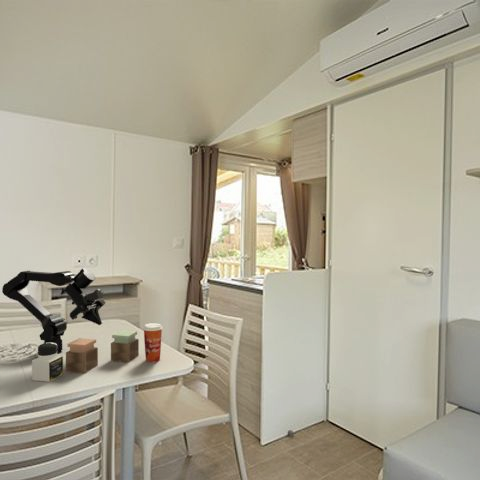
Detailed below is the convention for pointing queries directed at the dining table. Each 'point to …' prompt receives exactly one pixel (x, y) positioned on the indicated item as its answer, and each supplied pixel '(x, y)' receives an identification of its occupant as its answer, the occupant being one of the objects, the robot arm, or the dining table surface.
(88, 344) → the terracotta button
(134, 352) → the block
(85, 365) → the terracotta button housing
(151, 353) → the paper cup
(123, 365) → the dining table surface
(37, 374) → the medicine bottle
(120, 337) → the sage button
